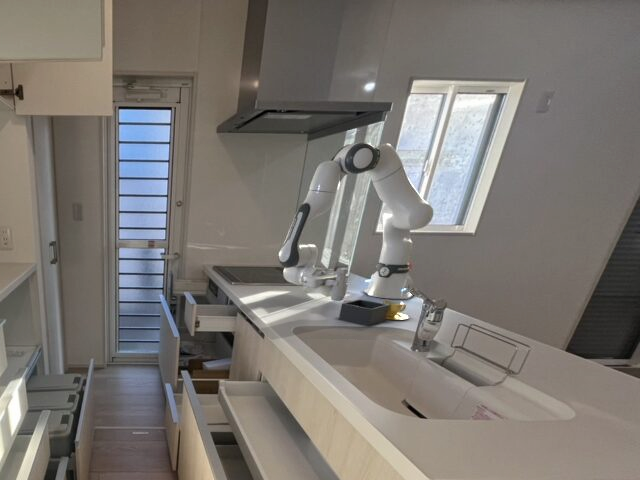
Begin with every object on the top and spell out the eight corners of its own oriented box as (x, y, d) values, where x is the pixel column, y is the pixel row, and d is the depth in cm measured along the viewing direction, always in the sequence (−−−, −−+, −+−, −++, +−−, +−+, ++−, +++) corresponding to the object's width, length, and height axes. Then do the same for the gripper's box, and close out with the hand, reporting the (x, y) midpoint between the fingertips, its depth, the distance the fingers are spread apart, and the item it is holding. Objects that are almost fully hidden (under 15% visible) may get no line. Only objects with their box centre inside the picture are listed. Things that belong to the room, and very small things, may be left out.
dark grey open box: (356, 314, 156) (359, 299, 153) (385, 320, 148) (389, 304, 145) (338, 319, 150) (341, 303, 148) (368, 325, 142) (371, 309, 140)
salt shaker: (331, 297, 175) (337, 266, 169) (345, 299, 172) (352, 267, 166) (327, 300, 171) (333, 268, 165) (342, 302, 167) (348, 269, 162)
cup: (382, 321, 147) (386, 306, 145) (365, 312, 158) (368, 298, 156) (415, 320, 147) (420, 305, 145) (396, 312, 158) (399, 298, 155)
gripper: (298, 272, 174) (324, 277, 162) (332, 268, 181) (360, 273, 170) (296, 287, 176) (321, 293, 165) (330, 282, 184) (357, 288, 173)
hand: (341, 283), depth 168 cm, fingers closed on salt shaker, 3 cm apart
